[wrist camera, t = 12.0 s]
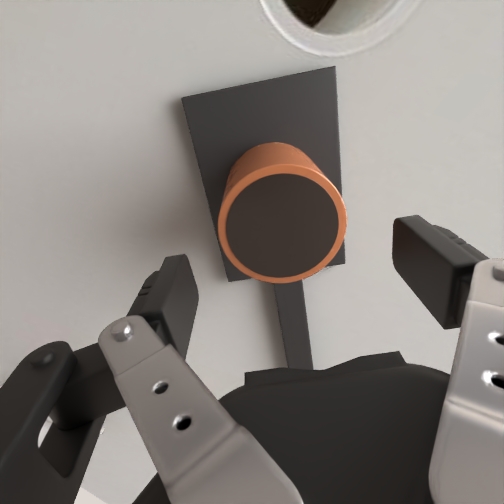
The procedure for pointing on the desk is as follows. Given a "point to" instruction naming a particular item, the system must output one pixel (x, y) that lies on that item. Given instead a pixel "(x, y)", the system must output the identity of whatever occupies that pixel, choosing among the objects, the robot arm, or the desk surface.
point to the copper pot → (280, 215)
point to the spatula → (266, 131)
